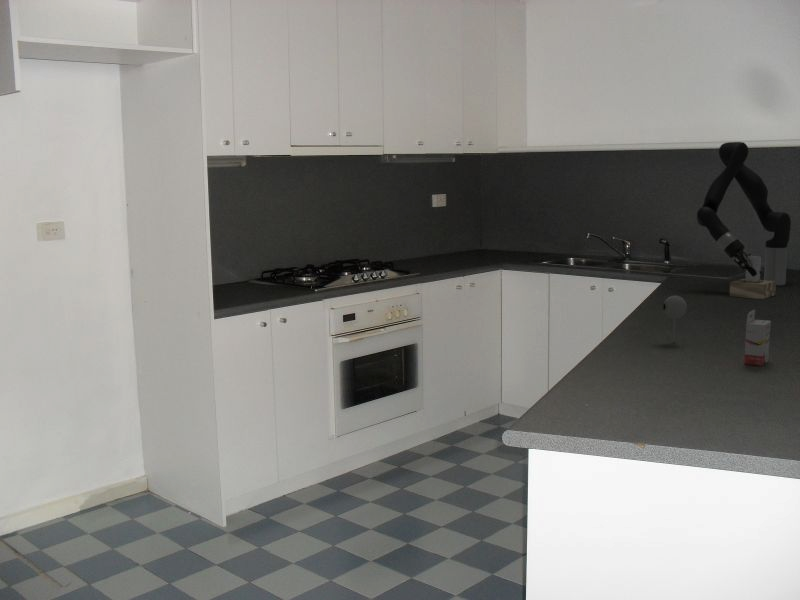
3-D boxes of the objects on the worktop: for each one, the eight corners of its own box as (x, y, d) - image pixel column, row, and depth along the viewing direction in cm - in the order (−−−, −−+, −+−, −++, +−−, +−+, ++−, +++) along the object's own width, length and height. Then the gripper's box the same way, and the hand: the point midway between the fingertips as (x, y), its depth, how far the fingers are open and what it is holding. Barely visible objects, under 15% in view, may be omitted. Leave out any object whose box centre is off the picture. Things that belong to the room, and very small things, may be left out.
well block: (742, 292, 386) (742, 278, 385) (775, 295, 377) (775, 281, 376) (729, 296, 376) (730, 282, 375) (762, 299, 366) (763, 284, 366)
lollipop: (658, 340, 285) (660, 294, 283) (680, 339, 285) (681, 293, 283) (667, 344, 278) (668, 297, 276) (689, 344, 278) (690, 296, 276)
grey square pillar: (748, 288, 379) (750, 255, 377) (759, 289, 376) (761, 256, 374) (744, 289, 376) (746, 256, 374) (755, 290, 373) (757, 257, 371)
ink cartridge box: (762, 366, 247) (764, 314, 244) (743, 364, 249) (746, 313, 247) (769, 360, 254) (771, 310, 251) (751, 358, 256) (753, 308, 254)
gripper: (730, 239, 372) (758, 270, 366) (743, 237, 383) (770, 267, 377) (717, 251, 377) (744, 282, 370) (730, 249, 387) (757, 278, 381)
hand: (757, 274), depth 374 cm, fingers closed on grey square pillar, 4 cm apart
